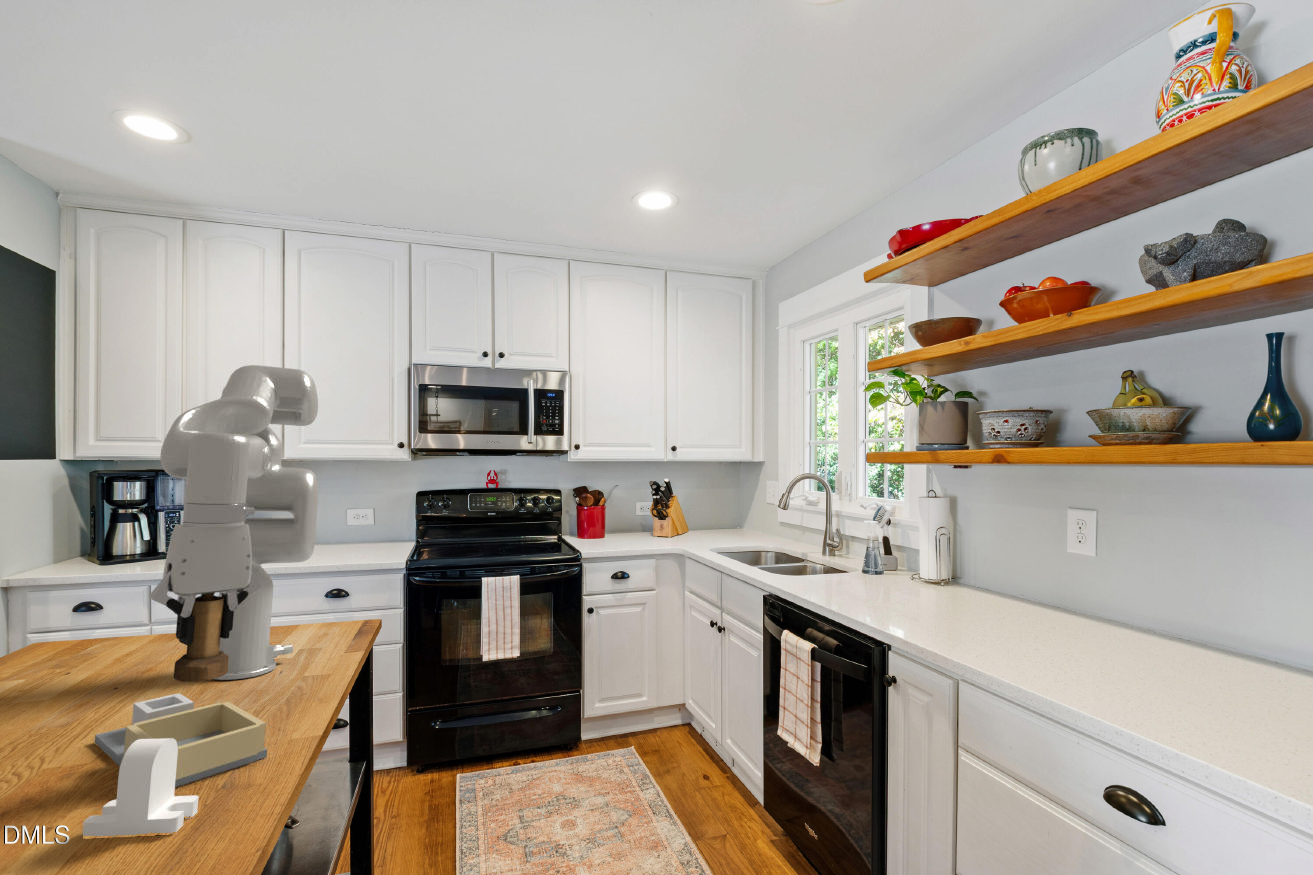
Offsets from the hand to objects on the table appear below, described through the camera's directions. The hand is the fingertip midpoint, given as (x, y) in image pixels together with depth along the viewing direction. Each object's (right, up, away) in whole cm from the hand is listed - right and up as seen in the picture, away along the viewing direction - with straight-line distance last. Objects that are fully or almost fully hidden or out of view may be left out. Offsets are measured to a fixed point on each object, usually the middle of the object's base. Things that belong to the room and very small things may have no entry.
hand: (204, 638), depth 92 cm
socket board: (-5, -18, +2) cm, 19 cm away
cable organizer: (+5, -17, -17) cm, 25 cm away
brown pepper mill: (0, -5, 0) cm, 5 cm away
